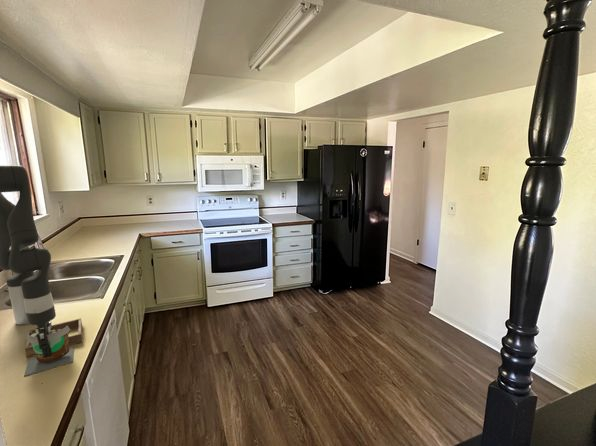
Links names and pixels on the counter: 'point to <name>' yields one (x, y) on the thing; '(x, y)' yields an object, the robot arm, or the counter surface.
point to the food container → (57, 346)
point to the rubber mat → (47, 363)
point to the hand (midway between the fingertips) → (48, 351)
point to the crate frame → (71, 324)
